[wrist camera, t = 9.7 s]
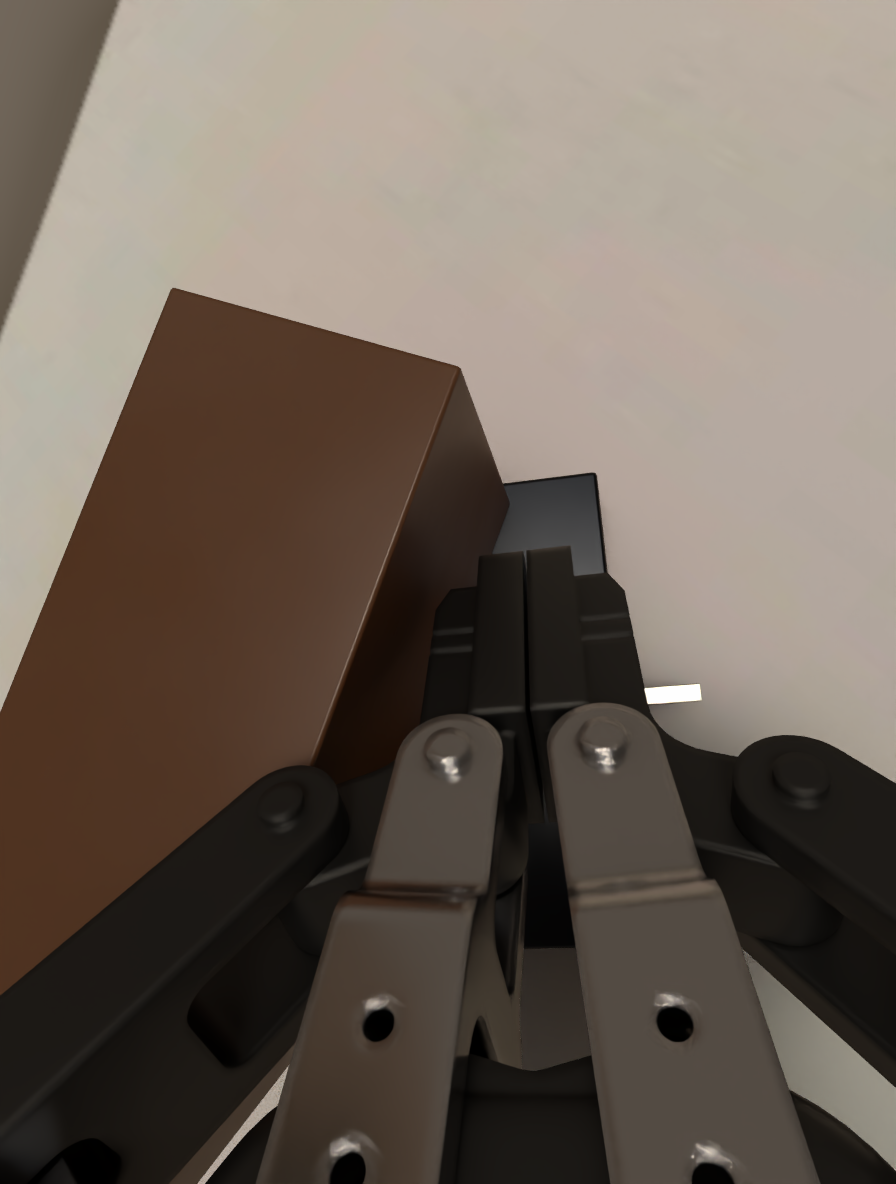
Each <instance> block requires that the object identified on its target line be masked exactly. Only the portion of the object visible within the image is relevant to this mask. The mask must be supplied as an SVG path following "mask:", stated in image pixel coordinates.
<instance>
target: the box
mask: <svg viewBox="0 0 896 1184" xmlns="http://www.w3.org/2000/svg"><path fill="white" fill-rule="evenodd" d="M509 504H510V502H509V499H508V496H507V494H506V491H505V488H504V485H503V483H502V480H501V477H500V475H499V472H498V469H497V466H496V464H495V461H494V458H493V455H492V453H491V450H490V447H489V445H488V442H487V439H486V436H485V434H484V431H483V428H482V425H481V423H480V420H479V417H478V415H477V412H476V409H475V406H474V404H473V401H472V398H471V395H470V393H469V390H468V387H467V385H466V382H465V379H464V376H463V374H462V371H461V369H460V368H459V367H458V366H454V365H451V364H447V363H444V362H440V361H436V360H433V359H429V358H425V357H422V356H418V355H415V354H411V353H407V352H404V351H400V350H397V349H393V348H389V347H386V346H382V345H379V344H375V343H371V342H368V341H364V340H361V339H357V338H353V337H350V336H346V335H343V334H339V333H335V332H332V331H328V330H324V329H321V328H317V327H314V326H310V325H306V324H303V323H299V322H296V321H292V320H288V319H285V318H281V317H278V316H274V315H270V314H267V313H263V312H260V311H256V310H252V309H249V308H245V307H241V306H238V305H234V304H231V303H227V302H223V301H220V300H216V299H213V298H209V297H205V296H202V295H198V294H195V293H191V292H187V291H184V290H180V289H176V288H172V289H171V291H170V293H169V296H168V298H167V301H166V303H165V306H164V308H163V310H162V313H161V315H160V318H159V320H158V323H157V325H156V328H155V330H154V333H153V335H152V338H151V340H150V343H149V345H148V348H147V350H146V353H145V355H144V358H143V360H142V363H141V365H140V367H139V370H138V372H137V375H136V377H135V380H134V382H133V385H132V387H131V390H130V392H129V395H128V397H127V400H126V402H125V405H124V407H123V410H122V412H121V415H120V417H119V420H118V422H117V424H116V427H115V429H114V432H113V434H112V437H111V439H110V442H109V444H108V447H107V449H106V452H105V454H104V457H103V459H102V462H101V464H100V467H99V469H98V472H97V474H96V476H95V479H94V481H93V484H92V486H91V489H90V491H89V494H88V496H87V499H86V501H85V504H84V506H83V509H82V511H81V514H80V516H79V519H78V521H77V524H76V526H75V529H74V531H73V533H72V536H71V538H70V541H69V543H68V546H67V548H66V551H65V553H64V556H63V558H62V561H61V563H60V566H59V568H58V571H57V573H56V576H55V578H54V581H53V583H52V586H51V588H50V590H49V593H48V595H47V598H46V600H45V603H44V605H43V608H42V610H41V613H40V615H39V618H38V620H37V623H36V625H35V628H34V630H33V633H32V635H31V638H30V640H29V642H28V645H27V647H26V650H25V652H24V655H23V657H22V660H21V662H20V665H19V667H18V670H17V672H16V675H15V677H14V680H13V682H12V685H11V687H10V690H9V692H8V695H7V697H6V699H5V702H4V704H3V707H2V709H1V712H0V995H1V994H2V993H4V992H5V991H6V990H7V989H8V988H10V987H11V986H12V985H13V984H14V983H16V982H17V981H18V980H19V979H20V978H22V977H23V976H24V975H25V974H26V973H28V972H29V971H30V970H31V969H32V968H34V967H35V966H36V965H37V964H38V963H40V962H41V961H42V960H43V959H44V958H46V957H47V956H48V955H49V954H50V953H51V952H53V951H54V950H55V949H56V948H57V947H59V946H60V945H61V944H62V943H63V942H65V941H66V940H67V939H68V938H69V937H71V936H72V935H73V934H74V933H75V932H77V931H78V930H79V929H80V928H81V927H83V926H84V925H85V924H86V923H87V922H89V921H90V920H91V919H92V918H93V917H94V916H96V915H97V914H98V913H99V912H100V911H102V910H103V909H104V908H105V907H106V906H108V905H109V904H110V903H111V902H112V901H114V900H115V899H116V898H117V897H118V896H120V895H121V894H122V893H123V892H124V891H126V890H127V889H128V888H129V887H130V886H132V885H133V884H134V883H135V882H136V881H137V880H139V879H140V878H141V877H142V876H143V875H145V874H146V873H147V872H148V871H149V870H151V869H152V868H153V867H154V866H155V865H157V864H158V863H159V862H160V861H161V860H163V859H164V858H165V857H166V856H167V855H169V854H170V853H171V852H172V851H173V850H175V849H176V848H177V847H178V846H179V845H181V844H182V843H183V842H184V841H185V840H186V839H188V838H189V837H190V836H191V835H192V834H194V833H195V832H196V831H197V830H198V829H200V828H201V827H202V826H203V825H204V824H206V823H207V822H208V821H209V820H210V819H212V818H213V817H214V816H215V815H216V814H218V813H219V812H220V811H221V810H222V809H224V808H225V807H226V806H227V805H228V804H229V803H231V802H232V801H233V800H234V799H235V798H237V797H238V796H239V795H240V794H241V793H243V792H244V791H245V790H246V789H247V788H249V787H250V786H251V785H252V784H253V783H255V782H256V781H257V780H259V779H260V778H262V777H264V776H265V775H267V774H269V773H271V772H273V771H276V770H278V769H281V768H285V767H289V766H295V765H306V766H313V767H316V768H319V769H321V770H323V771H324V772H326V773H327V774H328V775H329V776H330V777H331V778H332V779H333V781H334V782H335V784H339V783H342V782H345V781H348V780H350V779H353V778H356V777H359V776H362V775H365V774H368V773H371V772H373V771H376V770H378V769H380V768H382V767H384V766H386V765H388V764H389V763H391V762H392V761H394V760H395V759H396V756H397V753H398V750H399V747H400V745H401V744H402V742H403V740H404V739H405V738H406V737H407V735H408V734H409V733H410V732H411V731H413V730H414V729H415V728H416V727H418V726H419V724H420V718H421V711H422V704H423V697H424V689H425V682H426V675H427V668H428V661H429V655H430V647H431V639H432V637H433V625H434V618H435V611H436V609H437V607H438V606H439V605H440V603H441V602H442V600H443V599H444V598H445V596H446V595H447V594H448V592H449V591H450V589H456V588H466V587H475V586H477V575H478V561H479V556H482V555H491V554H492V551H493V549H494V546H495V543H496V540H497V538H498V535H499V532H500V529H501V527H502V524H503V521H504V518H505V516H506V513H507V510H508V507H509ZM295 1044H296V1043H295ZM295 1044H294V1045H293V1046H292V1047H291V1048H290V1049H289V1050H288V1052H287V1053H286V1054H285V1055H284V1056H283V1057H282V1058H281V1059H280V1060H279V1062H278V1063H277V1064H276V1065H275V1066H274V1067H273V1068H272V1069H271V1071H270V1072H269V1073H268V1074H267V1075H266V1076H265V1077H264V1078H263V1079H262V1081H261V1082H260V1083H259V1084H258V1085H257V1086H256V1087H255V1088H254V1089H253V1091H252V1092H251V1093H250V1094H249V1095H248V1096H247V1097H246V1098H245V1099H244V1101H243V1102H242V1103H241V1104H240V1105H239V1106H238V1107H237V1108H236V1110H235V1111H234V1112H233V1113H232V1114H231V1115H230V1116H229V1117H228V1118H227V1120H226V1121H225V1122H224V1123H223V1124H222V1125H221V1126H220V1127H219V1128H218V1130H217V1131H216V1132H215V1133H214V1134H213V1135H212V1136H211V1137H210V1138H209V1140H208V1141H207V1142H206V1143H205V1144H204V1145H203V1146H202V1147H201V1149H200V1150H199V1151H198V1152H197V1153H196V1154H195V1155H194V1156H193V1157H192V1159H191V1160H190V1161H189V1162H188V1163H187V1164H186V1165H185V1166H184V1167H183V1169H182V1170H181V1171H180V1172H179V1173H178V1174H177V1175H176V1176H175V1177H174V1179H173V1180H172V1181H171V1182H170V1183H169V1184H197V1183H198V1182H199V1181H200V1179H201V1178H202V1177H203V1175H204V1174H205V1173H206V1172H207V1170H208V1169H209V1168H210V1166H211V1165H212V1164H213V1163H214V1161H215V1160H216V1159H217V1157H218V1156H219V1155H220V1153H221V1152H222V1151H223V1150H224V1148H225V1147H226V1146H227V1144H228V1143H229V1142H230V1141H231V1139H232V1138H233V1137H234V1135H235V1134H236V1133H237V1131H238V1130H239V1129H240V1128H241V1126H242V1125H243V1124H244V1122H245V1121H246V1120H247V1118H248V1117H249V1116H250V1115H251V1113H252V1112H253V1111H254V1109H255V1108H256V1107H257V1106H258V1104H259V1103H260V1102H261V1100H262V1099H263V1098H264V1096H265V1095H266V1094H267V1093H268V1091H269V1090H270V1089H271V1087H272V1086H273V1085H274V1084H275V1082H276V1081H277V1080H278V1078H279V1077H280V1076H281V1074H282V1073H283V1072H284V1071H285V1069H286V1068H287V1067H288V1065H289V1064H290V1061H291V1058H292V1054H293V1051H294V1047H295Z"/></svg>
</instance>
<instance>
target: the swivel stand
mask: <svg viewBox="0 0 896 1184" xmlns="http://www.w3.org/2000/svg"><path fill="white" fill-rule="evenodd" d="M503 485H504V488H505V491H506V494H507V496H508V499H509V502H510V504H509V507H508V510H507V513H506V516H505V518H504V521H503V524H502V527H501V529H500V532H499V535H498V538H497V540H496V543H495V546H494V549H493V551H492V554H499V553H508V552H517V551H523V552H524V556H525V562H526V550H534V549H543V548H551V547H560V546H569V545H571V553H572V562H573V570H574V576H578V575H588V574H597V573H607V563H606V554H605V545H604V536H603V527H602V518H601V508H600V499H599V490H598V481H597V475H596V473H584V474H576V475H568V476H560V477H552V478H544V479H536V480H528V481H520V482H512V483H504V484H503ZM526 569H527V566H526ZM645 693H646V698H647V703H648V705H654V704H668V703H682V702H696V701H702V696H701V688H700V684H686V685H673V686H659V687H646V688H645ZM543 799H544V823H535V824H528V851H529V852H528V861H527V868H528V891H527V906H526V921H525V937H524V949H540V948H576V946H575V939H574V932H573V925H572V918H571V911H570V904H569V897H568V890H567V883H566V876H565V869H564V862H563V855H562V849H561V842H560V835H559V828H558V822H549V821H548V814H547V808H546V802H545V796H544V790H543Z"/></svg>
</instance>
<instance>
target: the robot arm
mask: <svg viewBox="0 0 896 1184" xmlns="http://www.w3.org/2000/svg"><path fill="white" fill-rule="evenodd" d="M526 566H527V569H526ZM543 790H544V796H545V802H546V808H547V814H548V821H549V822H558V828H559V835H560V842H561V849H562V855H563V862H564V869H565V876H566V883H567V890H568V897H569V904H570V911H571V918H572V925H573V932H574V939H575V946H576V952H577V959H578V966H579V973H580V980H581V987H582V993H583V1000H584V1007H585V1014H586V1021H587V1028H588V1034H589V1041H590V1048H591V1056H587V1057H584V1058H581V1059H577V1060H574V1061H570V1062H567V1063H564V1064H560V1065H557V1066H554V1067H550V1068H547V1069H543V1070H538V1071H527V1070H522V1043H521V1031H520V998H521V983H522V968H523V952H524V937H525V921H526V906H527V891H528V868H527V861H528V852H529V851H528V824H535V823H544V799H543ZM741 947H742V948H743V949H744V950H745V951H746V952H747V953H748V954H749V955H750V956H751V957H752V958H754V959H755V960H756V961H757V962H758V963H759V964H760V965H761V966H762V967H763V968H765V969H766V970H767V971H768V972H769V973H770V974H771V975H772V976H773V977H774V978H776V979H777V980H778V981H779V982H780V983H781V984H782V985H783V986H784V987H785V988H787V989H788V990H789V991H790V992H791V993H792V994H793V995H794V996H795V997H796V998H798V999H799V1000H800V1001H801V1002H802V1003H803V1004H804V1005H805V1006H806V1007H807V1008H809V1009H810V1010H811V1011H812V1012H813V1013H814V1014H815V1015H816V1016H817V1017H818V1018H820V1019H821V1020H822V1021H823V1022H824V1023H825V1024H826V1025H827V1026H828V1027H829V1028H831V1029H832V1030H833V1031H834V1032H835V1033H836V1034H837V1035H838V1036H839V1037H841V1038H842V1039H843V1040H844V1041H845V1042H846V1043H847V1044H848V1045H849V1046H850V1047H852V1048H853V1049H854V1050H855V1051H856V1052H857V1053H858V1054H859V1055H860V1056H861V1057H863V1058H864V1059H865V1060H866V1061H867V1062H868V1063H869V1064H870V1065H871V1066H872V1067H874V1068H875V1069H876V1070H877V1071H878V1072H879V1073H880V1074H881V1075H882V1076H883V1077H885V1078H886V1079H887V1080H888V1081H889V1082H890V1083H891V1084H892V1085H893V1086H894V1087H896V783H894V782H892V781H891V780H889V779H887V778H886V777H884V776H882V775H881V774H879V773H877V772H876V771H874V770H872V769H871V768H869V767H867V766H866V765H864V764H862V763H861V762H859V761H857V760H856V759H854V758H852V757H851V756H849V755H847V754H846V753H844V752H842V751H841V750H839V749H837V748H835V747H833V746H831V745H830V744H827V743H825V742H822V741H819V740H816V739H812V738H808V737H803V736H796V735H780V736H772V737H768V738H764V739H761V740H759V741H757V742H754V743H753V744H751V745H750V746H748V747H747V748H746V749H745V750H744V751H743V752H742V753H741V754H740V755H739V757H735V756H730V755H725V754H720V753H715V752H709V751H705V750H701V749H697V748H694V747H691V746H688V745H686V744H684V743H682V742H680V741H678V740H676V739H674V738H673V737H671V736H670V735H668V734H667V733H666V732H665V731H664V730H663V729H661V728H660V727H659V725H658V724H657V723H656V722H655V720H654V719H653V717H652V715H651V713H650V710H649V707H648V703H647V698H646V693H645V688H644V683H643V678H642V674H641V669H640V664H639V659H638V654H637V649H636V644H635V639H634V637H633V630H632V625H631V620H630V617H629V610H628V605H627V601H626V596H625V591H624V590H623V589H622V588H621V587H620V586H619V584H618V583H617V582H616V581H615V580H614V579H613V578H612V577H611V576H610V575H609V574H608V573H597V574H588V575H578V576H574V570H573V562H572V553H571V545H569V546H560V547H551V548H543V549H534V550H526V562H525V556H524V552H523V551H517V552H508V553H499V554H491V555H482V556H479V561H478V575H477V586H475V587H466V588H456V589H450V591H449V592H448V594H447V595H446V596H445V598H444V599H443V600H442V602H441V603H440V605H439V606H438V607H437V609H436V611H435V618H434V625H433V637H432V639H431V647H430V655H429V661H428V668H427V675H426V682H425V689H424V697H423V704H422V711H421V718H420V724H419V726H418V727H416V728H415V729H414V730H413V731H411V732H410V733H409V734H408V735H407V737H406V738H405V739H404V740H403V742H402V744H401V745H400V747H399V750H398V753H397V756H396V759H395V760H394V761H392V762H391V763H389V764H388V765H386V766H384V767H382V768H380V769H378V770H376V771H373V772H371V773H368V774H365V775H362V776H359V777H356V778H353V779H350V780H348V781H345V782H342V783H339V784H335V782H334V781H333V779H332V778H331V777H330V776H329V775H328V774H327V773H326V772H324V771H323V770H321V769H319V768H316V767H313V766H306V765H295V766H289V767H285V768H281V769H278V770H276V771H273V772H271V773H269V774H267V775H265V776H264V777H262V778H260V779H259V780H257V781H256V782H255V783H253V784H252V785H251V786H250V787H249V788H247V789H246V790H245V791H244V792H243V793H241V794H240V795H239V796H238V797H237V798H235V799H234V800H233V801H232V802H231V803H229V804H228V805H227V806H226V807H225V808H224V809H222V810H221V811H220V812H219V813H218V814H216V815H215V816H214V817H213V818H212V819H210V820H209V821H208V822H207V823H206V824H204V825H203V826H202V827H201V828H200V829H198V830H197V831H196V832H195V833H194V834H192V835H191V836H190V837H189V838H188V839H186V840H185V841H184V842H183V843H182V844H181V845H179V846H178V847H177V848H176V849H175V850H173V851H172V852H171V853H170V854H169V855H167V856H166V857H165V858H164V859H163V860H161V861H160V862H159V863H158V864H157V865H155V866H154V867H153V868H152V869H151V870H149V871H148V872H147V873H146V874H145V875H143V876H142V877H141V878H140V879H139V880H137V881H136V882H135V883H134V884H133V885H132V886H130V887H129V888H128V889H127V890H126V891H124V892H123V893H122V894H121V895H120V896H118V897H117V898H116V899H115V900H114V901H112V902H111V903H110V904H109V905H108V906H106V907H105V908H104V909H103V910H102V911H100V912H99V913H98V914H97V915H96V916H94V917H93V918H92V919H91V920H90V921H89V922H87V923H86V924H85V925H84V926H83V927H81V928H80V929H79V930H78V931H77V932H75V933H74V934H73V935H72V936H71V937H69V938H68V939H67V940H66V941H65V942H63V943H62V944H61V945H60V946H59V947H57V948H56V949H55V950H54V951H53V952H51V953H50V954H49V955H48V956H47V957H46V958H44V959H43V960H42V961H41V962H40V963H38V964H37V965H36V966H35V967H34V968H32V969H31V970H30V971H29V972H28V973H26V974H25V975H24V976H23V977H22V978H20V979H19V980H18V981H17V982H16V983H14V984H13V985H12V986H11V987H10V988H8V989H7V990H6V991H5V992H4V993H2V994H1V995H0V1184H169V1183H170V1182H171V1181H172V1180H173V1179H174V1177H175V1176H176V1175H177V1174H178V1173H179V1172H180V1171H181V1170H182V1169H183V1167H184V1166H185V1165H186V1164H187V1163H188V1162H189V1161H190V1160H191V1159H192V1157H193V1156H194V1155H195V1154H196V1153H197V1152H198V1151H199V1150H200V1149H201V1147H202V1146H203V1145H204V1144H205V1143H206V1142H207V1141H208V1140H209V1138H210V1137H211V1136H212V1135H213V1134H214V1133H215V1132H216V1131H217V1130H218V1128H219V1127H220V1126H221V1125H222V1124H223V1123H224V1122H225V1121H226V1120H227V1118H228V1117H229V1116H230V1115H231V1114H232V1113H233V1112H234V1111H235V1110H236V1108H237V1107H238V1106H239V1105H240V1104H241V1103H242V1102H243V1101H244V1099H245V1098H246V1097H247V1096H248V1095H249V1094H250V1093H251V1092H252V1091H253V1089H254V1088H255V1087H256V1086H257V1085H258V1084H259V1083H260V1082H261V1081H262V1079H263V1078H264V1077H265V1076H266V1075H267V1074H268V1073H269V1072H270V1071H271V1069H272V1068H273V1067H274V1066H275V1065H276V1064H277V1063H278V1062H279V1060H280V1059H281V1058H282V1057H283V1056H284V1055H285V1054H286V1053H287V1052H288V1050H289V1049H290V1048H291V1047H292V1046H293V1045H294V1044H295V1043H296V1044H295V1047H294V1051H293V1054H292V1058H291V1061H290V1065H289V1068H288V1072H287V1075H286V1079H285V1082H284V1086H283V1089H282V1093H281V1096H280V1100H279V1103H278V1106H277V1107H275V1108H274V1109H273V1110H271V1111H270V1112H269V1113H268V1114H266V1115H265V1116H264V1117H263V1118H262V1119H261V1120H260V1121H259V1122H258V1123H257V1124H256V1125H255V1126H254V1127H253V1128H252V1129H251V1130H250V1131H249V1132H248V1133H247V1134H246V1135H245V1136H244V1137H243V1139H242V1140H241V1141H240V1142H239V1143H238V1144H237V1145H236V1147H235V1148H234V1149H233V1150H232V1151H231V1153H230V1154H229V1155H228V1156H227V1157H226V1159H225V1160H224V1161H223V1162H222V1164H221V1165H220V1166H219V1167H218V1168H217V1170H216V1171H215V1172H214V1173H213V1175H212V1176H211V1177H210V1178H209V1179H208V1181H207V1182H206V1183H205V1184H896V1171H895V1170H894V1169H893V1168H892V1167H891V1166H890V1165H889V1164H888V1163H887V1162H886V1161H885V1160H884V1159H883V1158H882V1157H881V1156H880V1155H879V1154H878V1153H877V1152H876V1151H875V1150H874V1149H873V1148H872V1147H871V1146H870V1145H868V1144H867V1143H866V1142H865V1141H864V1140H863V1139H861V1138H860V1137H859V1136H858V1135H857V1134H856V1133H854V1132H853V1131H852V1130H851V1129H850V1128H848V1127H847V1126H846V1125H845V1124H843V1123H842V1122H841V1121H839V1120H838V1119H836V1118H835V1117H833V1116H832V1115H831V1114H829V1113H828V1112H826V1111H825V1110H823V1109H822V1108H821V1107H819V1106H818V1105H816V1104H814V1103H812V1102H811V1101H809V1100H807V1099H805V1098H803V1097H802V1096H800V1095H798V1094H796V1093H794V1092H793V1091H791V1090H789V1088H788V1085H787V1082H786V1079H785V1077H784V1074H783V1071H782V1068H781V1065H780V1062H779V1059H778V1056H777V1053H776V1050H775V1047H774V1044H773V1041H772V1038H771V1035H770V1032H769V1029H768V1026H767V1023H766V1020H765V1017H764V1014H763V1011H762V1008H761V1005H760V1002H759V999H758V996H757V993H756V990H755V987H754V984H753V981H752V978H751V975H750V972H749V969H748V966H747V963H746V960H745V957H744V954H743V951H742V948H741Z"/></svg>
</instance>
